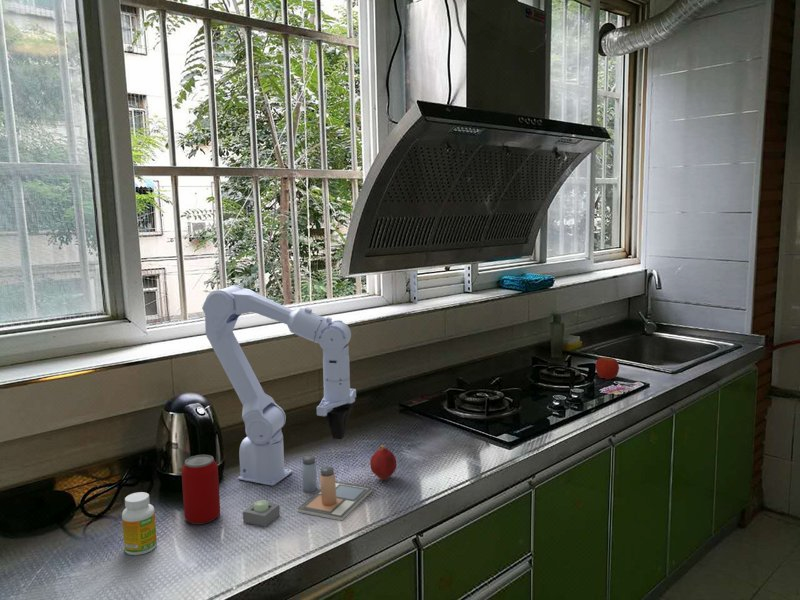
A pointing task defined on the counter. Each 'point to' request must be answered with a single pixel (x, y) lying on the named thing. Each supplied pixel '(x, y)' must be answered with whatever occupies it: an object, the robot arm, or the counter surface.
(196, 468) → the beverage can
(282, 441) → the robot arm
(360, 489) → the picture card
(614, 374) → the apple
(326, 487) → the terracotta marker
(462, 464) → the counter surface
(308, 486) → the cylinder
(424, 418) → the counter surface
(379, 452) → the onion
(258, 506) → the button
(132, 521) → the supplement bottle
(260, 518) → the button housing
